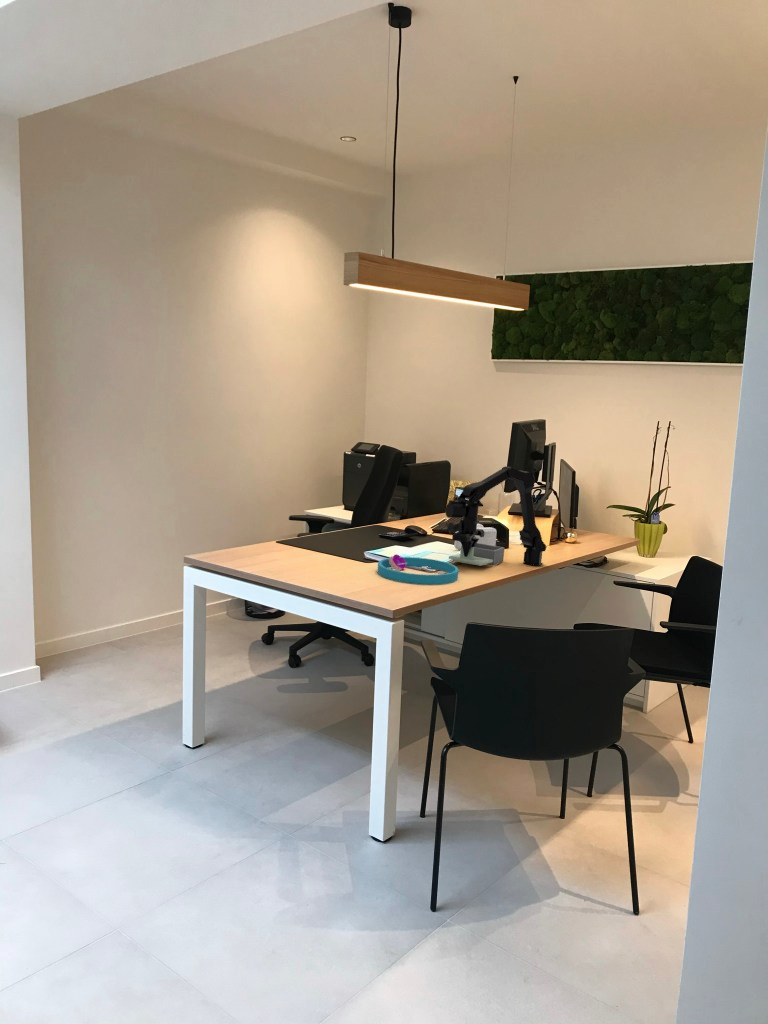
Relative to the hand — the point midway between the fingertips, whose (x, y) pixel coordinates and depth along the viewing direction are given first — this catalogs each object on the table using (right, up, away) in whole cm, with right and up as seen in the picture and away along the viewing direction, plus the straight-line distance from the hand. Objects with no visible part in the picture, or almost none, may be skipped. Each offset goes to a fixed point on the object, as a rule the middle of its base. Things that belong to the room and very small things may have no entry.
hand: (466, 556), depth 326 cm
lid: (+2, -3, +4) cm, 6 cm away
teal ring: (-20, -7, -18) cm, 28 cm away
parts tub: (+8, -3, +16) cm, 18 cm away
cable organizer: (+7, 0, +34) cm, 34 cm away
